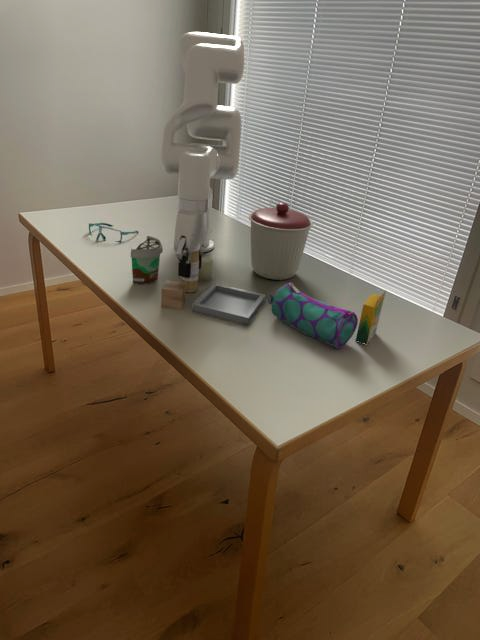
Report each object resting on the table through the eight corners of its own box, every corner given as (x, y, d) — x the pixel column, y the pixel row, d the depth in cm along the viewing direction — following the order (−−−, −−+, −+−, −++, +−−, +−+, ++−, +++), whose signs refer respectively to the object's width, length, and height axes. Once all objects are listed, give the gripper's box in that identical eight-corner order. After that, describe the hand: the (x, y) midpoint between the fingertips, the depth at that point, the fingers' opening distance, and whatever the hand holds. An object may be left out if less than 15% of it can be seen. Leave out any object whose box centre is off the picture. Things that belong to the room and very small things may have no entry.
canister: (315, 275, 149) (327, 205, 139) (280, 291, 137) (291, 216, 127) (267, 257, 159) (275, 191, 149) (230, 271, 146) (237, 199, 136)
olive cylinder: (198, 272, 143) (199, 255, 141) (214, 275, 142) (215, 259, 140) (191, 278, 139) (191, 261, 137) (207, 282, 138) (208, 265, 135)
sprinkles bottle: (193, 285, 135) (196, 237, 129) (200, 292, 132) (203, 243, 125) (177, 286, 133) (179, 238, 127) (183, 294, 130) (186, 245, 123)
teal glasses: (80, 236, 160) (80, 221, 158) (108, 229, 173) (109, 215, 171) (117, 246, 156) (118, 230, 154) (143, 238, 169) (144, 223, 167)
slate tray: (213, 289, 134) (214, 282, 133) (265, 301, 130) (265, 294, 129) (191, 311, 122) (192, 304, 121) (247, 325, 118) (248, 318, 117)
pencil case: (264, 319, 122) (269, 283, 117) (287, 310, 128) (292, 275, 123) (334, 356, 109) (342, 318, 105) (356, 344, 115) (365, 307, 111)
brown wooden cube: (165, 298, 127) (165, 280, 124) (184, 300, 127) (185, 282, 124) (161, 307, 122) (161, 288, 120) (181, 309, 122) (182, 291, 120)
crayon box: (364, 329, 122) (374, 286, 116) (376, 333, 121) (387, 289, 115) (354, 341, 116) (364, 296, 111) (366, 345, 115) (378, 300, 109)
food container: (153, 289, 130) (153, 253, 126) (130, 285, 131) (130, 249, 127) (168, 272, 141) (169, 238, 136) (147, 268, 142) (147, 235, 137)
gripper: (193, 194, 130) (190, 258, 138) (163, 209, 115) (161, 281, 124) (220, 199, 128) (215, 264, 136) (192, 215, 113) (189, 287, 122)
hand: (189, 271), depth 130 cm, fingers open, 6 cm apart
